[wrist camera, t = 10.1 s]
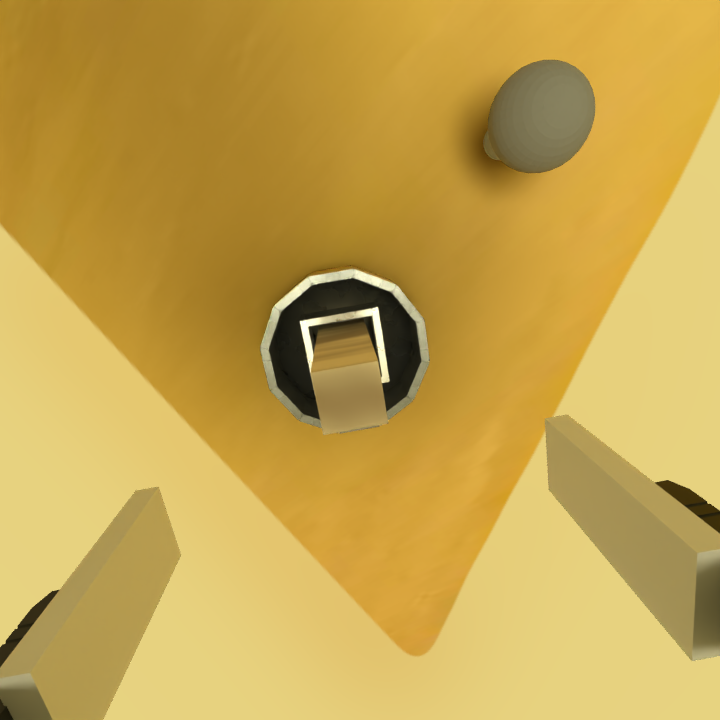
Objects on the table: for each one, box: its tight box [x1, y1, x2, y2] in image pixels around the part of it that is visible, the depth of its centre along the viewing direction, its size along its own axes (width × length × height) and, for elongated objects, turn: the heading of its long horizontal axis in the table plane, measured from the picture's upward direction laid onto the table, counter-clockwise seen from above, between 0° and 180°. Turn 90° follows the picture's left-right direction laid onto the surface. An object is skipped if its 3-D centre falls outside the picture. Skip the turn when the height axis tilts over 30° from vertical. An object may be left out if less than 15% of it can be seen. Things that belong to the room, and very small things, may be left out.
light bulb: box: [483, 60, 595, 173], centre depth 29 cm, size 6×6×10 cm
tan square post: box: [311, 318, 388, 435], centre depth 30 cm, size 4×4×13 cm
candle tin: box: [260, 265, 430, 433], centre depth 35 cm, size 12×12×4 cm
